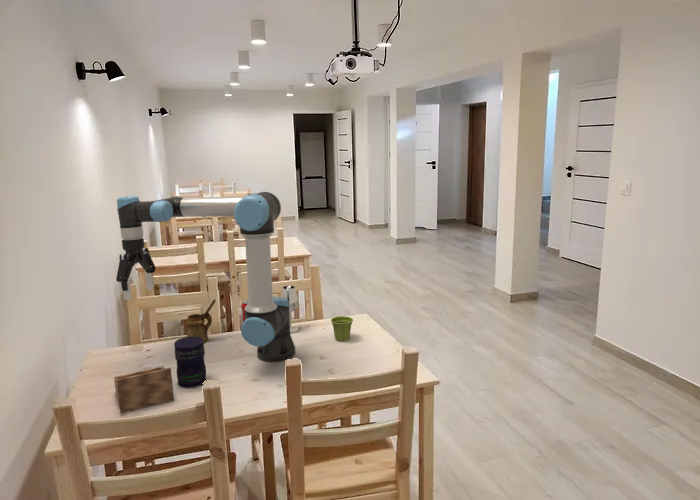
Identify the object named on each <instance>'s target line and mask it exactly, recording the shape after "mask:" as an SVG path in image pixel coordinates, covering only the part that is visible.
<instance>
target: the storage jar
mask: <svg viewBox="0 0 700 500" xmlns="http://www.w3.org/2000/svg"><path fill="white" fill-rule="evenodd" d="M173 344H174V345H173V346H174V358H175V361H176V371H175V372H176V378H177V385H178V387H180V388H183V389H193V388H198V387H200V386H202V385H203V384H202V383H203V382H204V381H205V380H206V381H207V365H206V364H205V353H206V352H205V345H204V344H205V343H203V339H202V338H201V337H187V336H185V337H181V338H179V339H176V340H175V342H174V343H173Z"/></svg>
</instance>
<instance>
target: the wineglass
mask: <svg viewBox="0 0 700 500" xmlns="http://www.w3.org/2000/svg"><path fill="white" fill-rule="evenodd" d="M280 297H283V298H286V299H288V301H289V306H290V308H289V312H290V334H294V333H293V332H295V333H297V332H299V331H298V328H299V327H297V326H292V313H293V312H295V310H297V308H298V305H299V297H298V292H297V289H296V286H295V285H285V286H282V288H281V295H280ZM296 327H297V328H296ZM296 331H297V332H296Z"/></svg>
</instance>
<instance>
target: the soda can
mask: <svg viewBox="0 0 700 500" xmlns="http://www.w3.org/2000/svg"><path fill="white" fill-rule="evenodd" d="M248 303H249V301H248V299H244V300H242V303H241V305H240V312H241V325H242V324H243V322H244V321H245V307H246V306H247V305H248Z"/></svg>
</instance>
